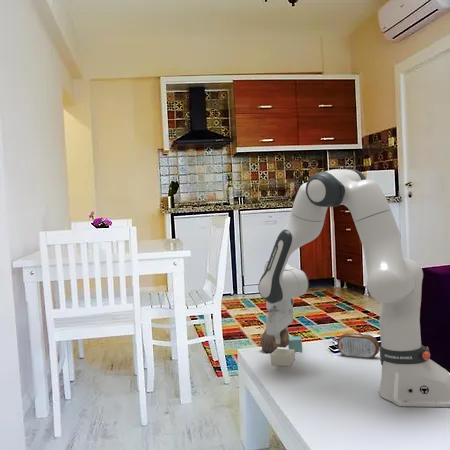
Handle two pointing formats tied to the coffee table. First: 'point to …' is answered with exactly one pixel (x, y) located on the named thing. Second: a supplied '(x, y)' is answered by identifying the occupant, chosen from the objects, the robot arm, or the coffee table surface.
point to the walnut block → (282, 339)
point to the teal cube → (295, 343)
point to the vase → (267, 342)
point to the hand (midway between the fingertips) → (281, 341)
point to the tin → (358, 345)
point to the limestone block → (282, 357)
